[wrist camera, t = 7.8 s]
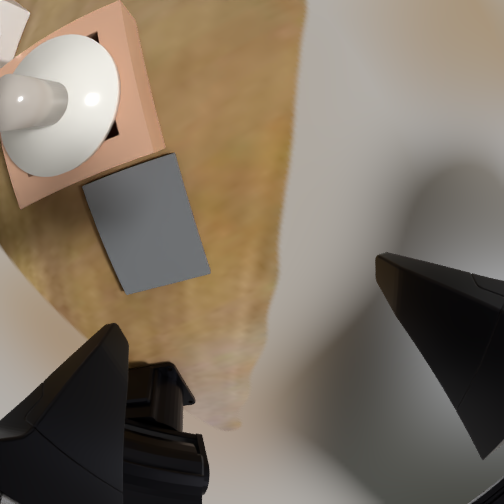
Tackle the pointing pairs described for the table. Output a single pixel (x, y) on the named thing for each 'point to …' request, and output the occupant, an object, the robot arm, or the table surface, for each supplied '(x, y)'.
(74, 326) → the table surface
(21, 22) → the jar
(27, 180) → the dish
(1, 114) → the lid
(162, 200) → the mat
